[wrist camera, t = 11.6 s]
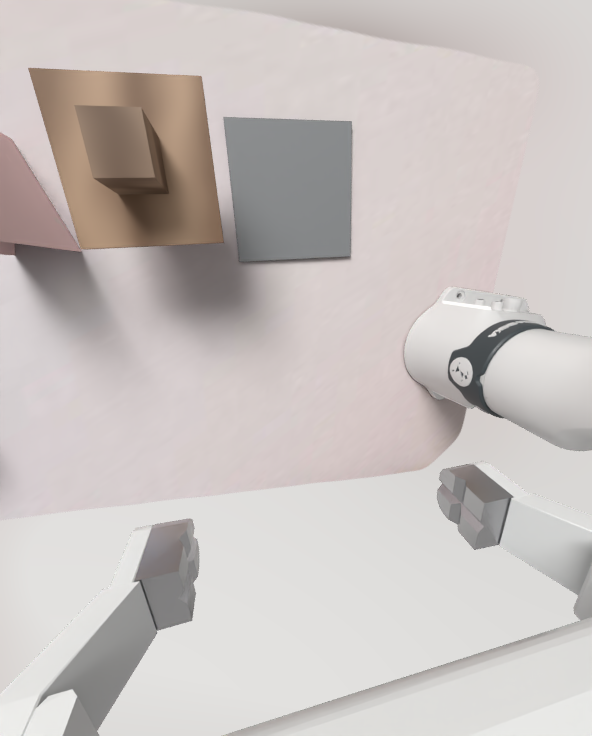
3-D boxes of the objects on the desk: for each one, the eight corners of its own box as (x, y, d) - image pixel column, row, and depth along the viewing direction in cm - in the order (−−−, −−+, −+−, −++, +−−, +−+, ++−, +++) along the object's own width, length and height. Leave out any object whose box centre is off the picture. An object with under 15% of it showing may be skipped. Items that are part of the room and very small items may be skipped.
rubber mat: (350, 123, 34) (351, 121, 34) (348, 256, 39) (350, 256, 39) (223, 119, 32) (223, 117, 31) (239, 261, 37) (239, 261, 36)
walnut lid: (202, 80, 23) (192, 30, 18) (223, 242, 27) (220, 236, 22) (33, 73, 21) (-26, 14, 16) (84, 249, 25) (48, 244, 20)
